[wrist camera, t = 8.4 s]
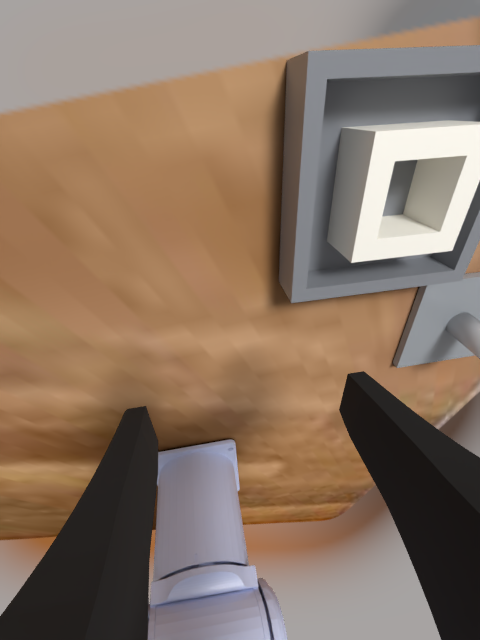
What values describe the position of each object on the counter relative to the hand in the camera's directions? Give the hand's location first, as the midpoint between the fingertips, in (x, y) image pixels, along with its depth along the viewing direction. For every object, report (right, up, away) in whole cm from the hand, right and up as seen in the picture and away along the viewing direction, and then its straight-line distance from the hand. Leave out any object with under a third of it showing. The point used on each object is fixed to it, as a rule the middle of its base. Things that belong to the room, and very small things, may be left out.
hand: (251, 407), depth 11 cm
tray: (+7, +11, +6) cm, 14 cm away
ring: (+7, +10, +5) cm, 14 cm away
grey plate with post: (+16, +3, +13) cm, 21 cm away
